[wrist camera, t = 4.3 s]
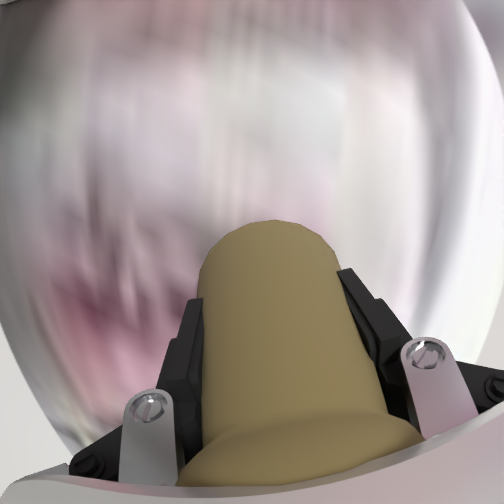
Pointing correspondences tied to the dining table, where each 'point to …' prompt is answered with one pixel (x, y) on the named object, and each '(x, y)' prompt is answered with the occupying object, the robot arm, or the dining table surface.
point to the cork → (284, 366)
